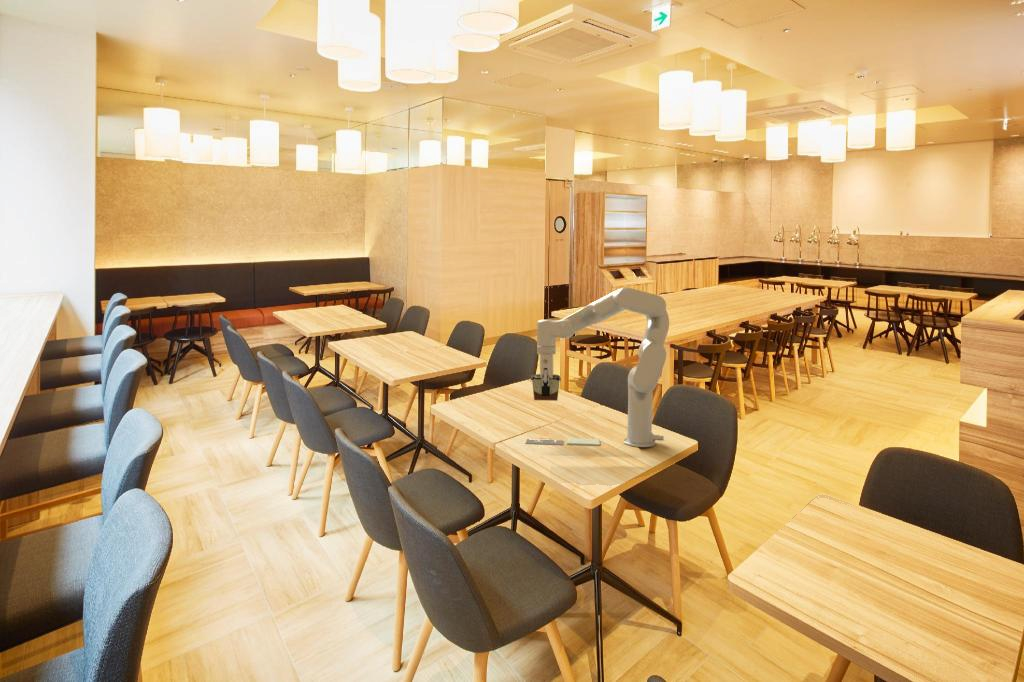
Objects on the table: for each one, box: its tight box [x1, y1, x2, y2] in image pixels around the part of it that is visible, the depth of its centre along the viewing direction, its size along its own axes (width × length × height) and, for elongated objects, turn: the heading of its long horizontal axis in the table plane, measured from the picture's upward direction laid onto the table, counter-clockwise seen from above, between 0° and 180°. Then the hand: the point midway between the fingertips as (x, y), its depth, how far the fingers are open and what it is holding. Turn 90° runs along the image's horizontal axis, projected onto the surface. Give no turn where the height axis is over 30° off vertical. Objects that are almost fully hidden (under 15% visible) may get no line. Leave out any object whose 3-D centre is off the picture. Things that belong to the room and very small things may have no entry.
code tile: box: [525, 438, 564, 446], centre depth 225 cm, size 15×11×1 cm
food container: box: [530, 373, 562, 402], centre depth 224 cm, size 12×6×10 cm, turn 84°
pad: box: [566, 437, 601, 447], centre depth 225 cm, size 13×11×1 cm
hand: (545, 394), depth 224 cm, fingers closed on food container, 5 cm apart
